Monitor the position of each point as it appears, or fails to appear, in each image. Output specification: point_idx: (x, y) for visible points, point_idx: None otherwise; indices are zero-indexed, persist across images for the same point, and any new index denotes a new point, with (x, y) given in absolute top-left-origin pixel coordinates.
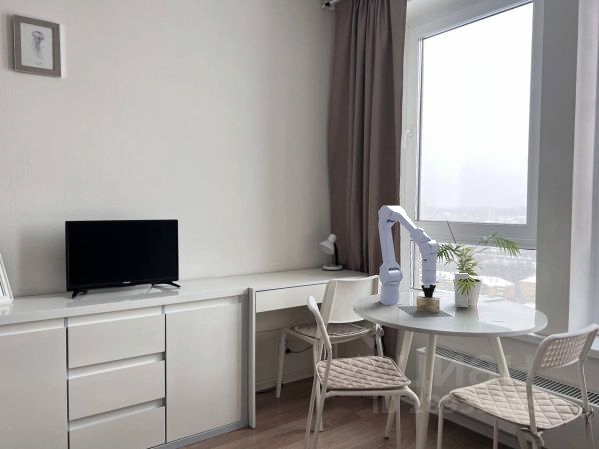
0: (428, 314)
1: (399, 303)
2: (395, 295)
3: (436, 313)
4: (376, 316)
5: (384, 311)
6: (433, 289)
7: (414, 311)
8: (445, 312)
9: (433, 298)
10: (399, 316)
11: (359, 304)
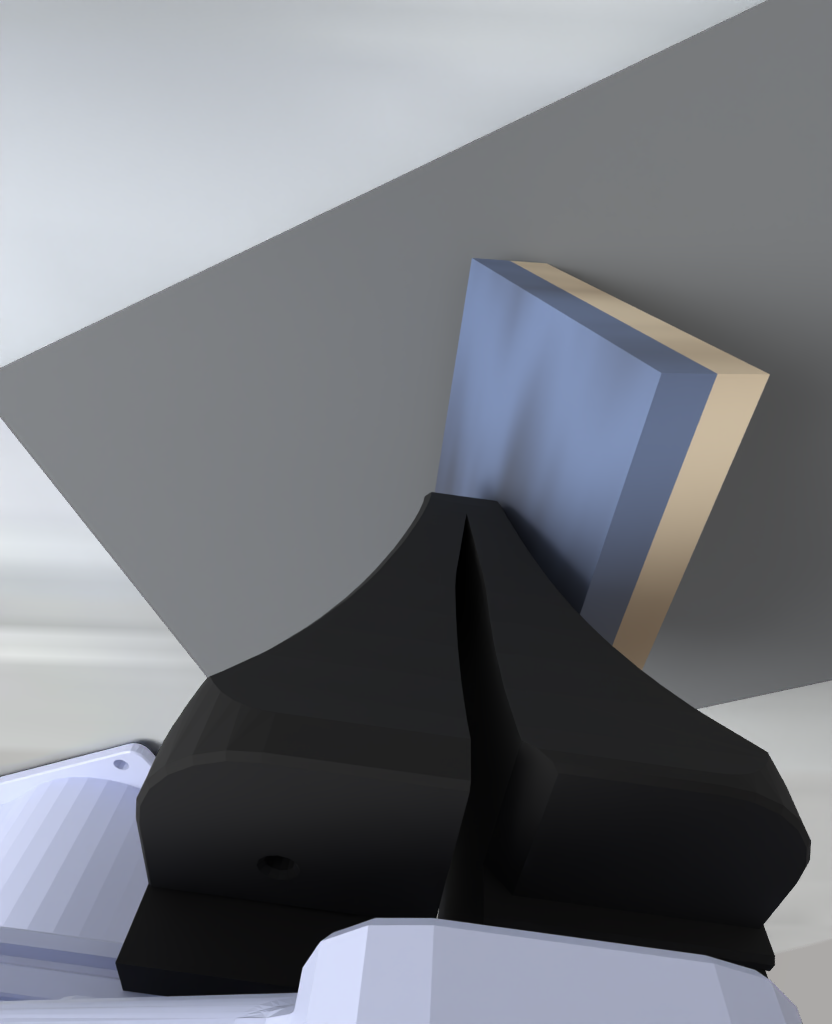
0: (752, 467)
1: (127, 771)
2: (125, 915)
3: None
4: (805, 922)
5: None
6: (733, 755)
7: None
8: (524, 117)
9: (665, 530)
10: (808, 774)
11: None
